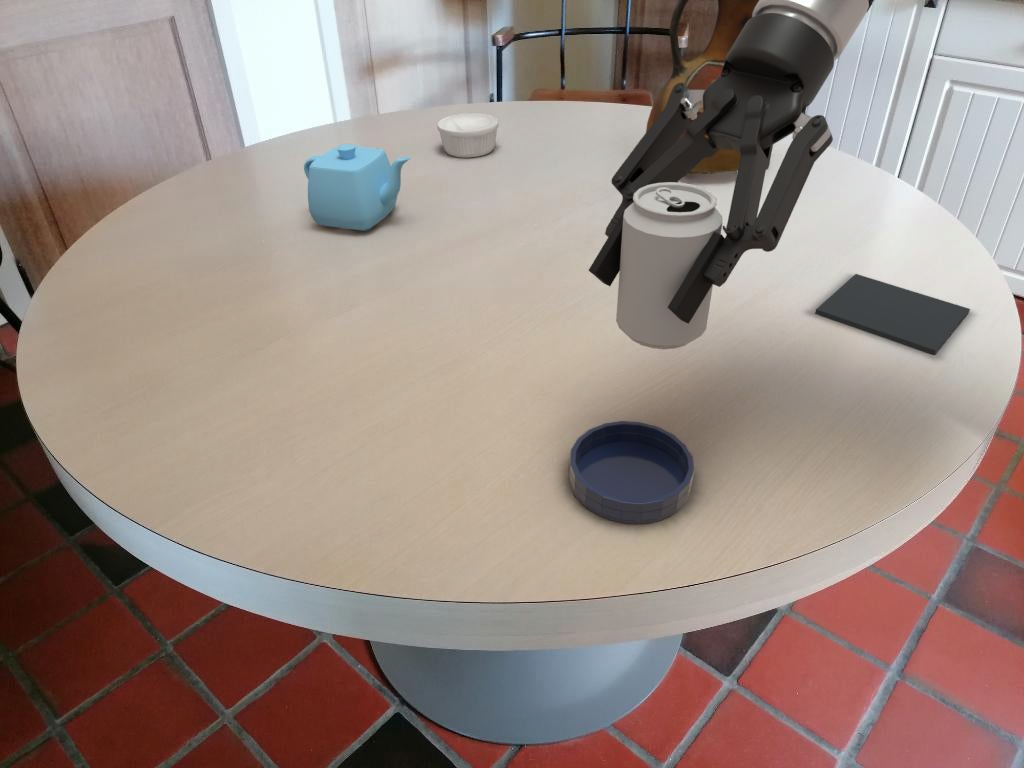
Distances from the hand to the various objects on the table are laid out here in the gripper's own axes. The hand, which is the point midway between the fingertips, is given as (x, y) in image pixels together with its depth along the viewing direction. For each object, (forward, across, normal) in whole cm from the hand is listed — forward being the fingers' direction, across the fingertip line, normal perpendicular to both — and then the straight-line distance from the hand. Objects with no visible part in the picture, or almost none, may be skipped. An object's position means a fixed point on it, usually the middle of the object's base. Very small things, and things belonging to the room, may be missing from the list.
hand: (637, 296), depth 59 cm
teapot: (+4, +66, -23) cm, 70 cm away
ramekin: (-19, +79, -45) cm, 93 cm away
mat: (-19, -3, -45) cm, 49 cm away
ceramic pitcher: (-36, +44, -62) cm, 84 cm away
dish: (+13, -1, -13) cm, 19 cm away
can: (+1, 0, -6) cm, 6 cm away
